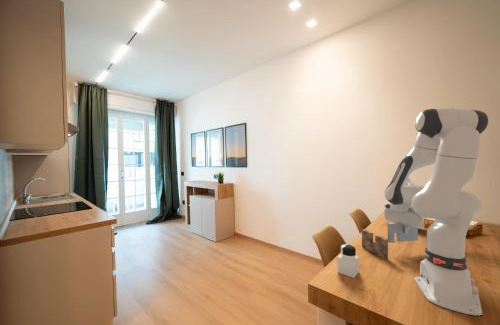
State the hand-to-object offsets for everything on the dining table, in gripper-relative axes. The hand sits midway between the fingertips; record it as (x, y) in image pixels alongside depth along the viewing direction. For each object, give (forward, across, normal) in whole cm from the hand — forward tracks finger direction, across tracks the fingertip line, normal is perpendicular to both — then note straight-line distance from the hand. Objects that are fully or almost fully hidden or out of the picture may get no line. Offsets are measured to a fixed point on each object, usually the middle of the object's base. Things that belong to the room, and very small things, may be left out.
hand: (402, 232), depth 114 cm
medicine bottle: (+12, -10, +43) cm, 46 cm away
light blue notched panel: (+5, 0, 0) cm, 5 cm away
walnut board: (+11, +4, +15) cm, 19 cm away
